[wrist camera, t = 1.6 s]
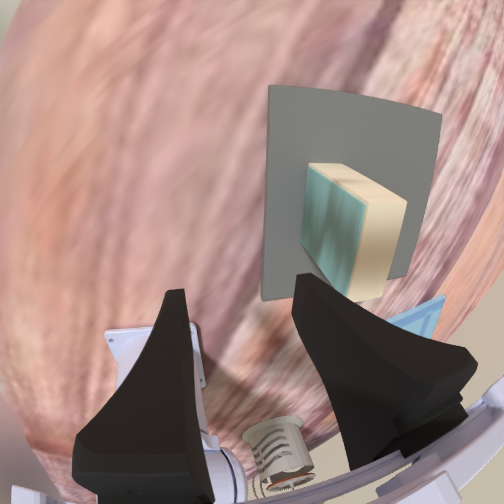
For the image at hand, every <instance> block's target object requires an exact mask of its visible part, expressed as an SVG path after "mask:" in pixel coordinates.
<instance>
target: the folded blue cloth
mask: <svg viewBox="0 0 504 504" xmlns="http://www.w3.org/2000/svg"><path fill="white" fill-rule="evenodd" d="M445 298H446V297H445V296H444V295H443V294H442V295H440V296H438V297H436V298H434V299H431V300H429V301H427V302H425V303H423V304H421V305H419V306H417V307H415V308H412V309H410V310H408V311H406V312H404V313H401V314H399V315H397V316H394V317H392V318H390V319H387V320H385V321H387V322H389V323H391V324H393V325H395V326H398V327H400V328H402V329H404V330H407V331H409V332H412V333H414V334H417V335H420V336H423V337H426V338H429V339H430V338H431V336H432V334H433V331H434V329H435V326H436V323H437V321H438V318H439V315H440V313H441V310H442V307H443V304H444V301H445Z"/></svg>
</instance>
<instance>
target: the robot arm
mask: <svg viewBox="0 0 504 504" xmlns="http://www.w3.org/2000/svg"><path fill="white" fill-rule="evenodd" d="M291 314H292V317H293V320H294V323H295V325H296V328H297V331H298V334H299V336H300V338H301V340H302V342H303V344H304V346H305V348H306V350H307V352H308V354H309V355H310V357H311V359H312V361H313V363H314V365H315V367H316V369H317V371H318V373H319V375H320V377H321V379H322V381H323V383H324V385H325V388H326V391H327V393H328V396H329V399H330V401H331V404H332V407H333V410H334V413H335V416H336V419H337V422H338V425H339V429H340V432H341V435H342V439H343V442H344V446H345V450H346V454H347V458H348V462H349V468H350V471H351V472H348V473H346V474H343V475H340V476H337V477H335V478H332V479H329V480H326V481H323V482H320V483H317V484H314V485H311V486H307V487H304V488H301V489H297V490H293V491H290V492H286V493H282V494H278V495H274V496H270V497H265V498H260V499H255V500H250V501H247V499H248V483H247V478H246V474H245V471H244V468H243V466H242V464H241V462H240V461H239V459H238V458H237V457H236V456H235V455H234V453H233V452H232V451H231V450H229V449H228V448H225V447H220V444H219V439H218V436H216V435H209V431H208V426H207V421H206V415H205V409H204V403H203V397H202V391H201V388H204V387H205V386H206V382H205V377H204V371H203V365H202V360H201V354H200V348H199V342H198V336H197V329H196V325H195V324H194V323H189V317H188V311H187V305H186V298H185V292H184V289H175V290H168V291H167V292H166V293H165V297H164V300H163V303H162V306H161V309H160V312H159V315H158V317H157V319H156V322H155V324H154V326H150V327H139V328H127V329H113V330H106V331H105V334H104V337H105V339H106V341H107V344H108V346H109V348H110V350H111V352H112V355H113V357H114V359H115V361H116V363H117V377H116V391H115V393H114V394H113V396H112V397H111V398H110V399H109V400H108V402H107V403H106V404H105V405H104V406H103V408H102V409H101V410H100V411H99V412H98V414H97V415H96V416H95V417H94V418H93V419H92V420H91V421H90V422H89V423H88V424H87V425H86V426H85V427H84V428H83V429H82V430H81V431H80V432H79V433H78V434H77V435H76V439H75V444H74V448H73V456H72V478H73V480H74V481H75V482H76V483H78V484H79V485H81V486H82V487H84V488H86V489H88V490H89V491H91V492H93V493H95V494H97V504H318V503H321V502H324V501H327V500H330V499H333V498H336V497H338V496H341V495H343V494H346V493H349V492H351V491H353V490H356V489H358V488H360V487H363V486H365V485H368V484H370V483H372V482H374V481H376V480H378V479H380V478H382V477H385V476H387V475H389V474H391V473H393V472H395V471H396V470H398V469H400V468H402V467H404V466H406V465H408V464H410V463H411V462H413V463H412V465H411V466H410V467H408V468H407V469H405V470H404V471H402V472H400V473H398V474H397V475H396V476H395V477H393V478H392V479H390V480H389V481H388V482H386V483H384V484H383V485H381V486H379V487H377V488H376V493H377V495H378V496H379V498H378V499H376V500H374V501H371V502H370V503H367V504H460V501H461V499H462V497H461V495H460V493H459V490H460V489H461V488H463V487H464V486H465V485H466V484H467V483H468V482H469V481H470V480H471V479H472V478H473V477H474V476H475V475H476V474H477V473H478V472H479V471H480V470H481V469H482V468H483V467H484V466H485V465H486V464H487V463H488V462H489V461H490V460H491V459H492V458H493V457H494V455H495V454H496V453H497V452H498V451H499V450H500V449H501V448H502V446H503V445H504V375H503V376H502V377H501V378H500V379H499V380H498V381H496V382H495V383H494V384H493V385H492V386H490V387H489V389H488V390H487V391H486V392H485V393H484V394H483V396H482V398H480V399H479V400H477V401H476V402H475V403H473V404H472V405H471V406H469V407H468V408H466V409H464V408H463V407H462V405H461V404H460V402H461V401H462V400H463V397H462V396H461V395H460V393H459V392H460V391H461V390H462V389H463V387H464V386H465V385H466V384H467V382H468V381H469V380H470V378H471V377H472V376H473V375H474V373H475V371H476V369H477V366H478V363H477V361H476V360H475V359H474V357H473V356H472V355H471V354H470V353H469V351H468V350H467V349H466V348H465V347H461V346H456V345H451V344H446V343H442V342H439V341H435V340H432V339H429V338H426V337H423V336H420V335H417V334H414V333H412V332H409V331H407V330H404V329H402V328H400V327H398V326H395V325H393V324H391V323H389V322H387V321H385V320H383V319H381V318H379V317H378V316H376V315H374V314H372V313H371V312H369V311H367V310H366V309H364V308H362V307H361V306H359V305H357V304H356V303H354V302H353V301H351V300H350V299H348V298H347V297H345V296H344V295H342V294H341V293H340V292H338V291H337V290H335V289H334V288H332V287H331V286H330V285H328V284H327V283H325V282H324V281H323V280H321V279H320V278H318V277H317V276H315V275H314V274H312V273H304V274H297V275H296V283H295V290H294V298H293V305H292V313H291ZM191 332H192V333H191ZM111 339H113V340H111ZM11 501H12V502H11V504H78V503H72V502H66V501H60V500H56V499H54V498H53V497H51V496H49V495H47V494H45V493H42V492H39V491H35V490H31V489H28V488H24V487H21V486H17V485H12V500H11Z"/></svg>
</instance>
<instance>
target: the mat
mask: <svg viewBox="0 0 504 504" xmlns="http://www.w3.org/2000/svg"><path fill="white" fill-rule="evenodd" d="M441 122H442V114H439V113H436V112H433V111H429V110H425V109H422V108H418V107H414V106H410V105H406V104H402V103H398V102H394V101H389V100H384V99H379V98H374V97H369V96H364V95H358V94H352V93H346V92H339V91H331V90H324V89H315V88H305V87H294V86H279V85H269V86H268V122H267V154H266V184H265V211H264V236H263V260H262V283H261V299H262V301H268V300H275V299H281V298H288V297H294V290H295V283H296V275H297V274H304V273H312V274H314V275H315V276H317V277H318V278H320V279H321V280H323V281H324V282H325V283H327V284H328V285H330V286H331V287H332V288H334V287H333V286H332V284H331V283H330V282H329V280H328V279H327V278H326V276H325V275H324V273H323V272H322V271H321V269H320V268H319V267H318V265H317V264H316V263H315V261H314V260H313V259H312V257H311V256H310V255H309V253H308V252H307V251H306V249H305V248H304V247H303V245H302V244H301V243H300V241H301V232H302V222H303V212H304V201H305V190H306V179H307V167H309V163H340V164H344V165H345V166H347V167H349V168H351V169H353V170H355V171H356V172H358V173H360V174H362V175H364V176H365V177H367V178H369V179H371V180H372V181H374V182H376V183H378V184H379V185H381V186H383V187H384V188H386V189H388V190H390V191H391V192H393V193H394V194H396V195H398V196H399V197H401V198H403V199H404V200H406V201H407V205H406V210H405V214H404V218H403V223H402V227H401V231H400V235H399V238H398V242H397V246H396V250H395V253H394V257H393V260H392V264H391V267H390V270H389V273H388V277H387V280H388V279H393V278H398V277H403V276H406V275H407V272H408V269H409V266H410V263H411V259H412V256H413V253H414V250H415V246H416V243H417V240H418V236H419V233H420V229H421V225H422V222H423V218H424V214H425V210H426V206H427V201H428V197H429V193H430V188H431V183H432V178H433V173H434V168H435V163H436V157H437V151H438V144H439V138H440V130H441Z"/></svg>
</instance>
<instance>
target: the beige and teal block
mask: <svg viewBox="0 0 504 504" xmlns="http://www.w3.org/2000/svg"><path fill="white" fill-rule="evenodd" d="M406 205H407V201H406V200H404V199H403V198H401V197H399V196H398V195H396V194H394V193H393V192H391V191H390V190H388V189H386V188H384V187H383V186H381V185H379V184H378V183H376V182H374V181H372V180H371V179H369V178H367V177H365V176H364V175H362V174H360V173H358V172H356V171H355V170H353V169H351V168H349V167H347V166H345V165H344V164H340V163H309V167H307V179H306V190H305V201H304V212H303V222H302V232H301V241H300V243H301V244H302V245H303V247H304V248H305V249H306V251H307V252H308V253H309V255H310V256H311V257H312V259H313V260H314V261H315V263H316V264H317V265H318V267H319V268H320V269H321V271H322V272H323V273H324V275H325V276H326V278H327V279H328V280H329V282H330V283H331V284H332V286H333V287H334V289H335V290H337V291H338V292H340V293H341V294H342V295H344V296H345V297H347V298H348V299H350V300H351V301H353V302H358V301H363V300H367V299H372V298H376V297H381V295H382V292H383V289H384V286H385V283H386V280H387V277H388V273H389V270H390V267H391V264H392V260H393V257H394V253H395V250H396V246H397V242H398V238H399V235H400V231H401V227H402V223H403V218H404V214H405V210H406Z"/></svg>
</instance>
